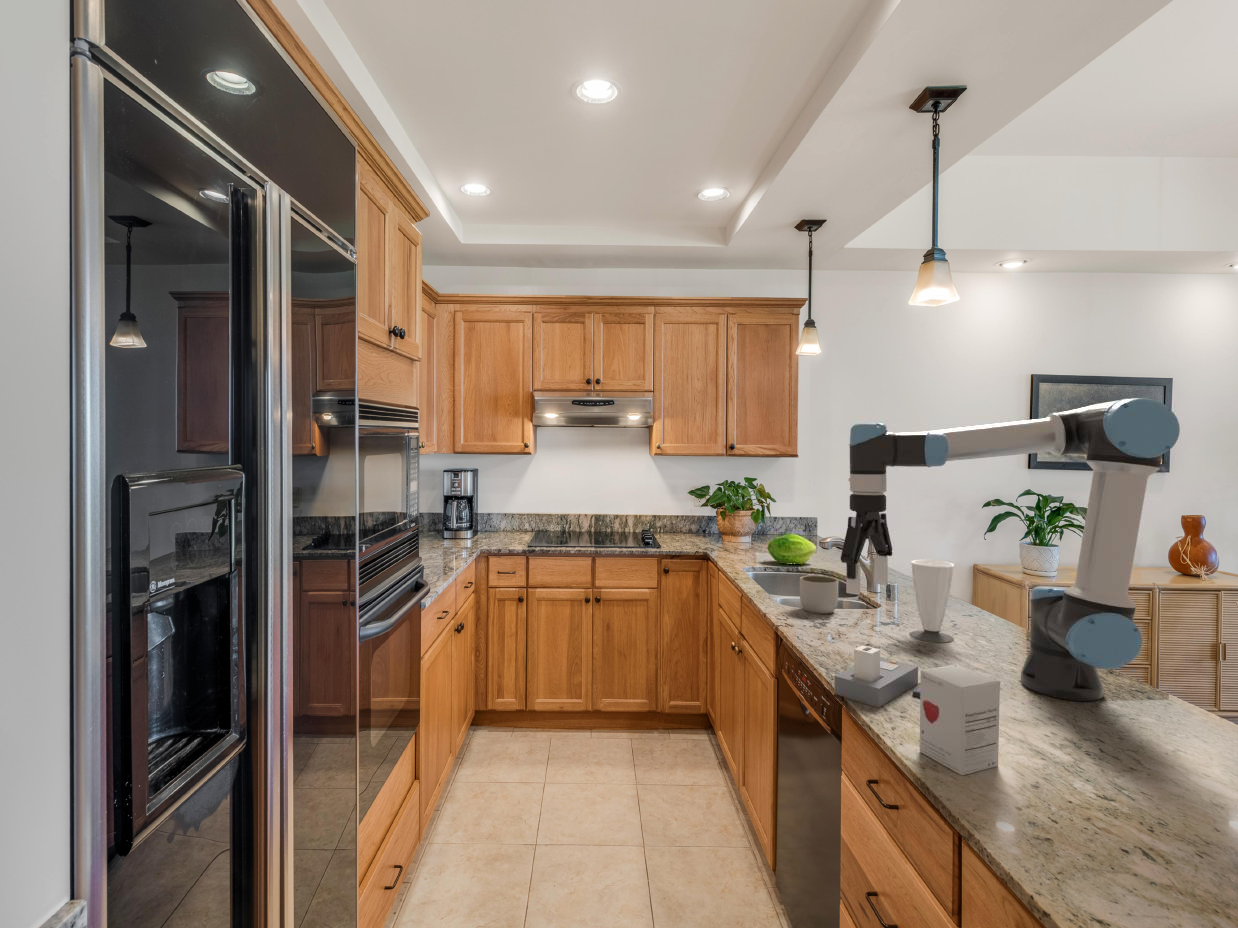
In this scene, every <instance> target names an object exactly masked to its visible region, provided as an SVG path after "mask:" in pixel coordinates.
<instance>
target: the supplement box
mask: <svg viewBox="0 0 1238 928" xmlns="http://www.w3.org/2000/svg"><path fill="white" fill-rule="evenodd" d="M919 683H920V697H919V700H920V702H919V704H920V705H919V707H920V708H919V753H921V754H923V755H925V756H927V757H929V758H931V759H932V760H934V761H935V762H937V763H939V764H940V765H942V766H944V767H946V768H948V769H950V770H951V771H953V772H955V773H956V774H958V775H960V776H965V775H969V774H972V773H977V772H982V771H984V770H988V769H992V768H995V767H998V766H999V741H1000V739H999V738H1000V736H999V735H1000V701H1001V700H1000V694H1001V693H1000V692H1001V681H1000V680H998V679H995V678H993V677H991V676H987V675H985V674H982V673H980V672H978V671H975V670H972V669H969V668H967V667H964V666H962V665H960V664H957V663H954V664H950V665H949V664H948V665H942V666H939V667H929V668H923V669H921V670H920V682H919Z"/></svg>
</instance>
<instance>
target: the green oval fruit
mask: <svg viewBox="0 0 1238 928" xmlns="http://www.w3.org/2000/svg"><path fill="white" fill-rule="evenodd" d="M766 549H767V551H768V554H769V555H770V556H771V557H772V558H773V559H774V561H776V562H779V563H780V564H782V563H792V564H794V563H795V564H801V565H804V564H805V563H806V562H808V561H809V560H810V558H811V557H812V556H813V555H814V553H816V552H817V546H816V545H815V544H814V543H813V542H811V541H809V540H808V539H807V538H804V537H803V536H800V535H797V534H793V533H791V534H788V533H787V534H784V535H782V536H777V537H774V538H772V539H771V540H770V541H769V543H768V545H767V547H766ZM803 563H804V564H803Z"/></svg>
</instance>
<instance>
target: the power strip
mask: <svg viewBox="0 0 1238 928" xmlns="http://www.w3.org/2000/svg"><path fill="white" fill-rule="evenodd" d="M918 683H919V666H918V665H913V664H911V663H907V662H903V661H898V660H896V659H895V660H894V659H890V658H887V657H882V656H880V680H878V681H876V682H874V683H872V682H869V681H865V680H862V679H858V678H854V666H852V667H850V668H848V669H846V670H843V671H841V672H840V673H837V674H836V675H834V691H833V692H834V695H837V696H840V697H844V698H846V699H850V700H853V701H857V702H859V703H863V704H867V705H869V706H873V707H876V708H881V707H882V706H885V705H886V704H888V703H889V702H891V701H892V700H894V699H895V698H897V697H898V696H900V695H902V694H903V693H905V692H907V691H908V690H910V689H912V688H913V687H916V686H917V685H918Z"/></svg>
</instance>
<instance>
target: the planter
mask: <svg viewBox="0 0 1238 928" xmlns="http://www.w3.org/2000/svg"><path fill="white" fill-rule="evenodd" d="M799 601H800V604H801V607H802V609H804V611H806V612H807V613H808V612H809V613H811V614H819V615H826V614H828V615H829V614H831V613H833V612H834V611H835V610H836V609H837V606H838V602H839V579H837V578H836V577H831V576H826V575H813V574H812V575H803V576H800V577H799Z"/></svg>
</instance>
